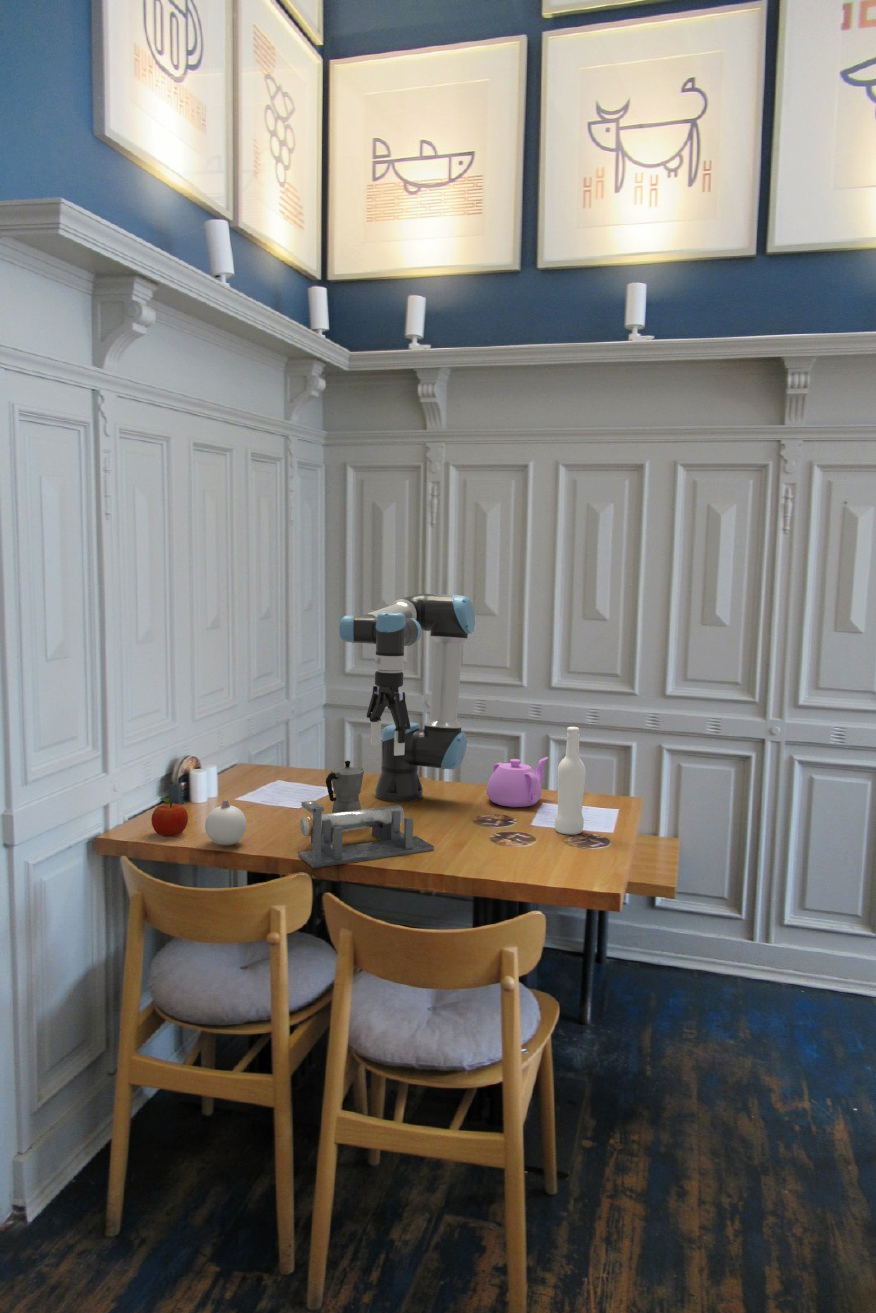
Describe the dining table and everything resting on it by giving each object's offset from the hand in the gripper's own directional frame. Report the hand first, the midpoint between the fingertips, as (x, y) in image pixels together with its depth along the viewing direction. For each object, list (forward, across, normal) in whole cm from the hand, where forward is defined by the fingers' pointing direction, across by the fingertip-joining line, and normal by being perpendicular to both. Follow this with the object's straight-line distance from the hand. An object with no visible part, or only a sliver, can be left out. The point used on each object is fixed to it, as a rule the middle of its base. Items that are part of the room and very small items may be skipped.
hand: (386, 750), depth 253 cm
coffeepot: (+25, -20, -2) cm, 32 cm away
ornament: (+25, -16, -39) cm, 49 cm away
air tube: (+21, -3, -8) cm, 23 cm away
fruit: (+25, -30, -49) cm, 63 cm away
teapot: (+24, -18, +57) cm, 65 cm away
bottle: (+25, +14, +52) cm, 59 cm away
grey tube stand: (+25, +7, -9) cm, 27 cm away
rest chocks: (+25, -3, -8) cm, 26 cm away
